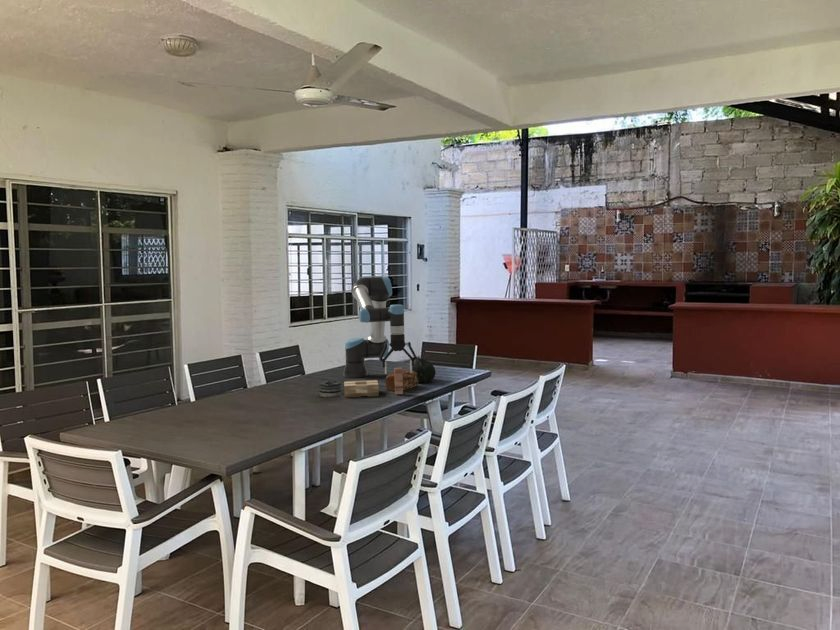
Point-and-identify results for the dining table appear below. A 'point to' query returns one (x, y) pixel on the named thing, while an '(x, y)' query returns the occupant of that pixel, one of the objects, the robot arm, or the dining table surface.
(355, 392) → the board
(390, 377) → the bread
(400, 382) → the peg
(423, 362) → the squash
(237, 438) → the dining table surface
